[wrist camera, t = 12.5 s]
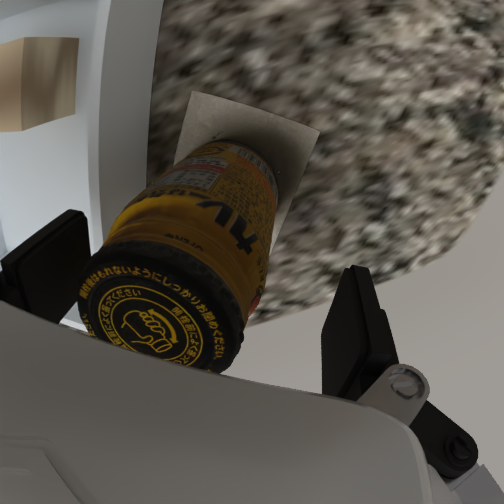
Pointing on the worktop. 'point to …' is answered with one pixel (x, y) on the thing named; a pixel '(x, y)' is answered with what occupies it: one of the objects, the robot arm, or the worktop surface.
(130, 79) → the tote
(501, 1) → the worktop surface
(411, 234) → the worktop surface
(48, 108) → the cube
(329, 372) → the robot arm
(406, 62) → the worktop surface
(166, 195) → the condiment
